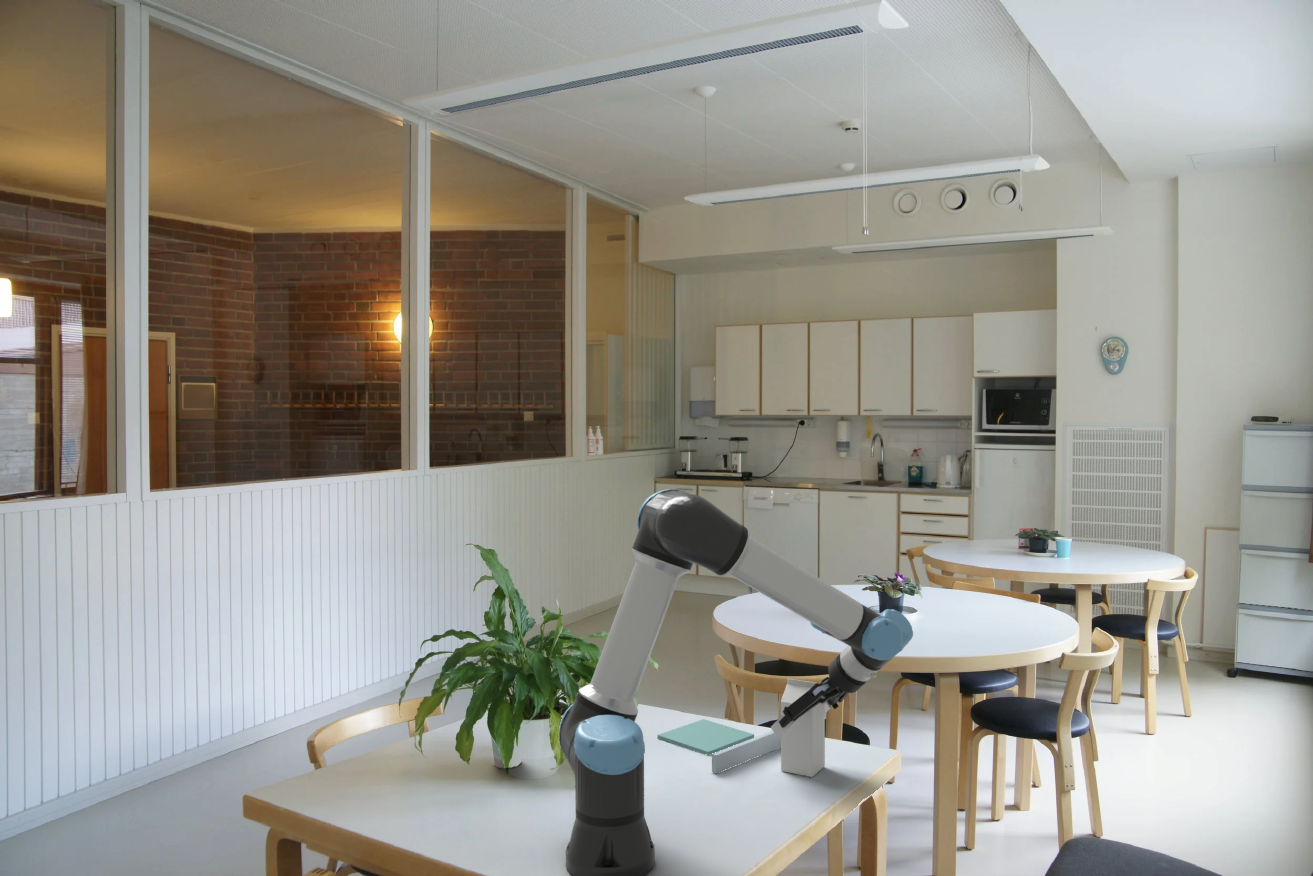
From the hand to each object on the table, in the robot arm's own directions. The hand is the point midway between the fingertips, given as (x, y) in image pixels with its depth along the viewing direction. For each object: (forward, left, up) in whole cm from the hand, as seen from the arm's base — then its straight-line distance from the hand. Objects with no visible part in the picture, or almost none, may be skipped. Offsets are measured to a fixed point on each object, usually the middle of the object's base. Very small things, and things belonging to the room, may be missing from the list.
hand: (792, 725), depth 204 cm
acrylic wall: (-1, +9, -9) cm, 13 cm away
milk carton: (0, -3, -9) cm, 9 cm away
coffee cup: (-42, +45, -9) cm, 62 cm away
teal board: (0, +25, -9) cm, 27 cm away
